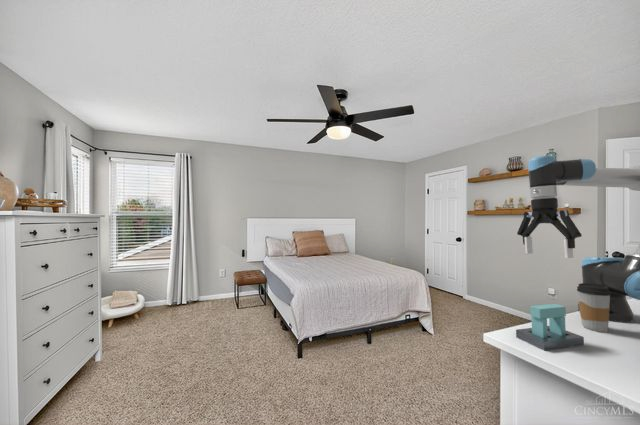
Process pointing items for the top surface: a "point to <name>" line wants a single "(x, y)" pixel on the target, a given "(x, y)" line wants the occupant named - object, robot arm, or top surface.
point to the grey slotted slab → (550, 339)
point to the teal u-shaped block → (555, 319)
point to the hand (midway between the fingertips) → (547, 255)
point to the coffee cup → (594, 306)
